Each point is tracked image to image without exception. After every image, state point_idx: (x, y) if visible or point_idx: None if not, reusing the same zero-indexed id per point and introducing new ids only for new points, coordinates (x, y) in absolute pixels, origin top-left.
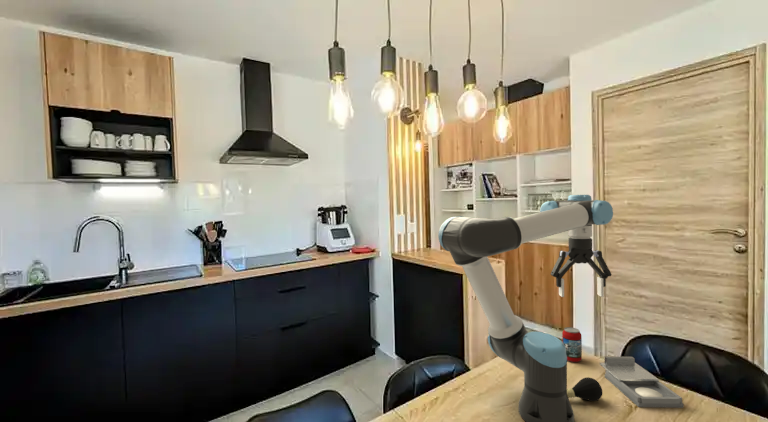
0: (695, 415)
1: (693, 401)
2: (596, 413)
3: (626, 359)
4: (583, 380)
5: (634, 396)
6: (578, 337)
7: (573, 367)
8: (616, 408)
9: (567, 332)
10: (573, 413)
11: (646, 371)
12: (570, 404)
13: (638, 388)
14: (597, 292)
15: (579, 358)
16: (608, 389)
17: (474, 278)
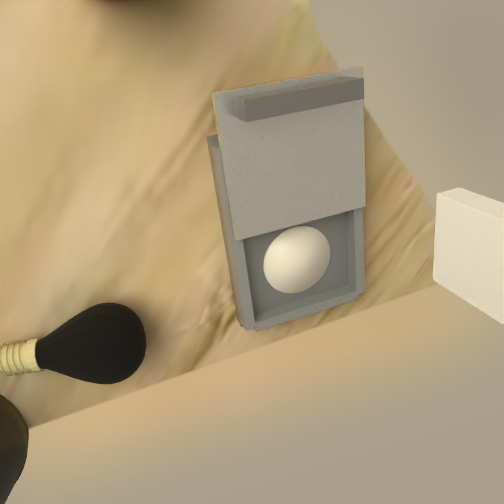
0: (356, 312)
1: (395, 242)
2: (103, 393)
3: (329, 104)
4: (83, 368)
5: (242, 315)
6: None
7: (90, 57)
8: (171, 347)
9: None
10: (25, 458)
11: (360, 149)
12: (14, 475)
13: (282, 238)
14: (458, 208)
15: None
16: (187, 237)
17: None
